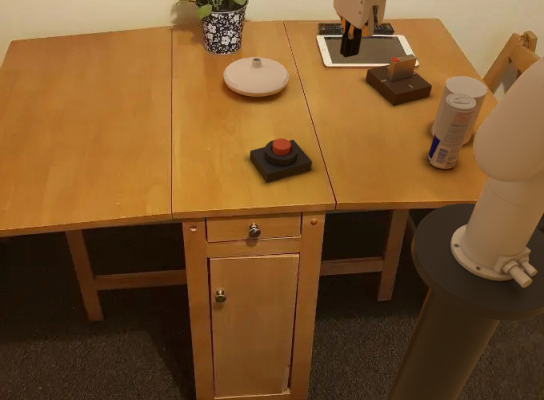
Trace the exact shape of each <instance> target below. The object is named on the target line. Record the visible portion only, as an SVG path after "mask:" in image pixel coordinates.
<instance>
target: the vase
mask: <svg viewBox="0 0 544 400" xmlns="http://www.w3.org/2000/svg"><path fill="white" fill-rule="evenodd" d="M223 80H224V83H225V84H226V87H228V88H229V89H230V91H233V92H235V93H237V94H240V95H243V96H248V97H267V96H272V95H275V94H277V93H279V92H281V91H282V90H284V88H285V87H287V84H288V82H289V80H290V74H289V70H287V68H286V67H285V66H284V65H283V64H282V63H280V62H279V61H276V60H274V59H271V58H268V57H262V56H250V57H249V56H248V57H243V58H239V59H236V60H234V61H232V62H231V63H230V64H229V65H228V66H226V67H225V69H224V71H223Z"/></svg>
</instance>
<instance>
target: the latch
mask: <svg viewBox="0 0 544 400" xmlns="http://www.w3.org/2000/svg"><path fill="white" fill-rule="evenodd" d="M417 60H418V57H417V56H415V55H414V54H412V53H410V54H406V55H402V56H397V57H391V58H390V59H389V63H388V65H389V68H388V72H387V77H386V78H387V79H389V80H390V81H391V82H392V81H396V80H400V79H404V78H409V77H412V76H413V72H415V68H416V63H417Z"/></svg>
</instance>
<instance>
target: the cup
mask: <svg viewBox="0 0 544 400" xmlns="http://www.w3.org/2000/svg"><path fill="white" fill-rule="evenodd" d="M454 93H461V94H465V95H468V96H470V97H472V98H473V99H474V100H475V101H476V106H475V110H474V113H473V116H472V119H471V121H470V124H469V127H468V130H467V133H466V136H465V138H464V141H463V144H462V146H463V145H466V144H467V143H469V141H470V139H471V137H472V134H473V131H474V130H475V125H476V123H477V120H478V117H479V115H480V112H481V110H482V108H483V107H482V106H483V104H484V101H485V99H486V96H487V93H488V87H487V86H486V84H484V82H483V81H480V80H479V79H477V78H475V77H471V76H465V75H456V76H455V75H454V76H451V77H449V78H447V80H446V81H445V84H444V88H443V90H442V93H441V97H440V100H439V104H438V107H437V110H436V113H435V116H434V120H433V123H432V127H431V129H430V133H431V136H432V137H433V138H434V134H435V131H436V128H437V125H438V121H439V118H440V115H441V112H442V108H443V105H444V102H445V100H446V97H447V96H448V95H450V94H454Z"/></svg>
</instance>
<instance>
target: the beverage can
mask: <svg viewBox="0 0 544 400" xmlns="http://www.w3.org/2000/svg"><path fill="white" fill-rule="evenodd" d="M475 106H476V101H475V100H474V99H473V98H472V97H470V96H468V95H465V94H461V93H454V94H450V95H448V96H447V97H446V100H445V102H444V105H443V108H442V112H441V115H440V118H439V121H438V125H437V128H436V131H435V134H434V137H433V138H432V141H431V143H430V148H429V151H428V154H427V161H428V163H429V164H430V165H432V166H433V167H435V168H437V169H442V170H449V169H452V168H454V167H455V166H456V164H457V162H458V158H459V155H460V152H461V149H462V147H463V145H464V144H463V141H464V138H465V136H466V133H467V130H468V127H469V124H470V121H471V119H472V116H473V113H474V110H475ZM462 144H463V145H462Z"/></svg>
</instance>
